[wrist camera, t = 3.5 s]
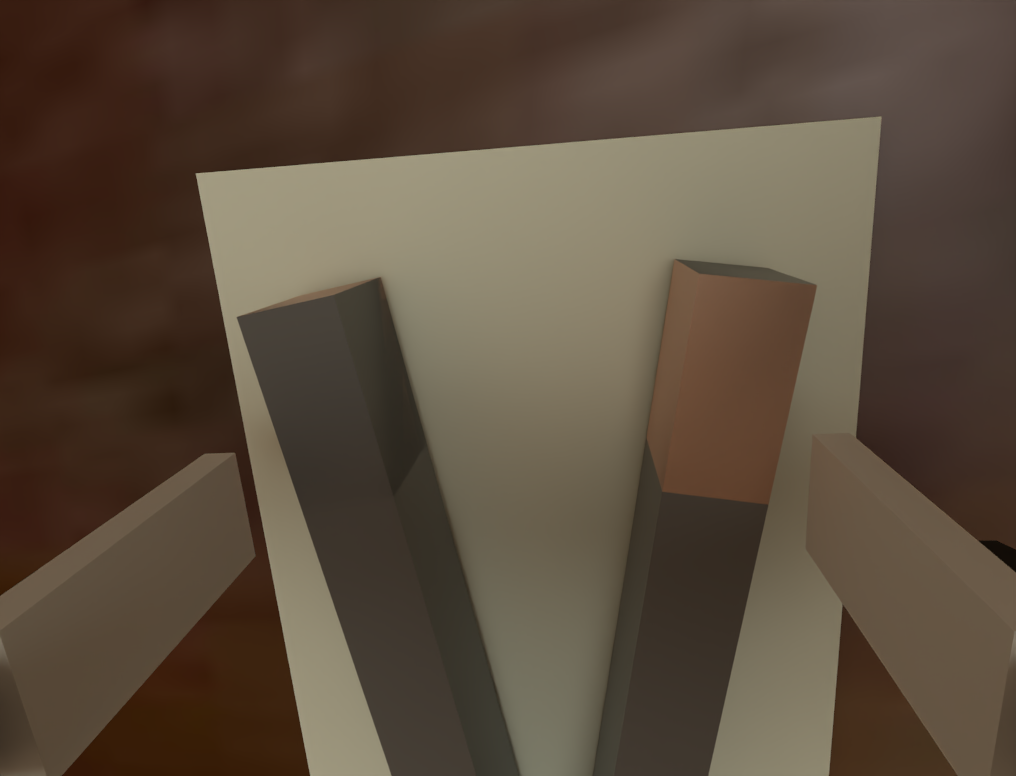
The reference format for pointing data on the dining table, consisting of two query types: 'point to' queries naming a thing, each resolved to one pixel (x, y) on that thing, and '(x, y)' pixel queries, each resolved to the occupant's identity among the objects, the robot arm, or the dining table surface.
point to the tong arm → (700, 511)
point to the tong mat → (561, 402)
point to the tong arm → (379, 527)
